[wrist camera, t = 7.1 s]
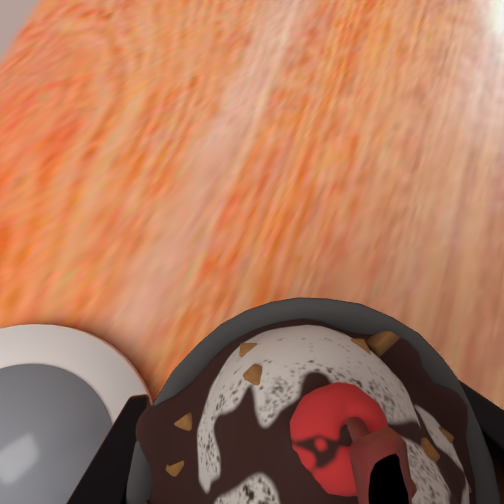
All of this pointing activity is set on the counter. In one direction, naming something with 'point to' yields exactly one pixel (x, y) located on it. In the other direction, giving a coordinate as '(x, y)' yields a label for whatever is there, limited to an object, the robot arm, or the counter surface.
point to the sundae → (311, 416)
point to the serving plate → (56, 408)
